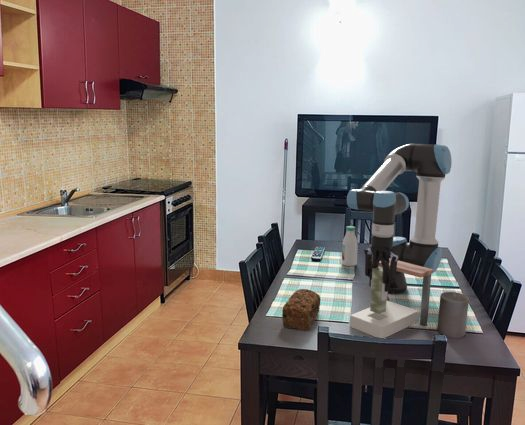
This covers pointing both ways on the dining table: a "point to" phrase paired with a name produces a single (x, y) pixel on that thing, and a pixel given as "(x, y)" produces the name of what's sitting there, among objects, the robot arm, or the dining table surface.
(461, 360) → the dining table surface
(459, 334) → the pillar candle
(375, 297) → the peg
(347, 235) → the milk bottle
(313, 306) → the bread
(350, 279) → the dining table surface
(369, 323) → the socket stand
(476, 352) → the dining table surface
